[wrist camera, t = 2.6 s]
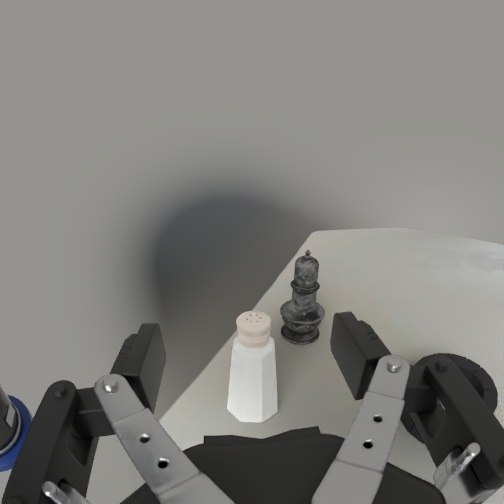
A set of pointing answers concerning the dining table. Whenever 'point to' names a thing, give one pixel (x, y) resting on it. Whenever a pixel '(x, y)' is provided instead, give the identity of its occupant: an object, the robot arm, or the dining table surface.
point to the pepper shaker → (253, 370)
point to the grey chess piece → (303, 304)
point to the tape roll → (474, 376)
